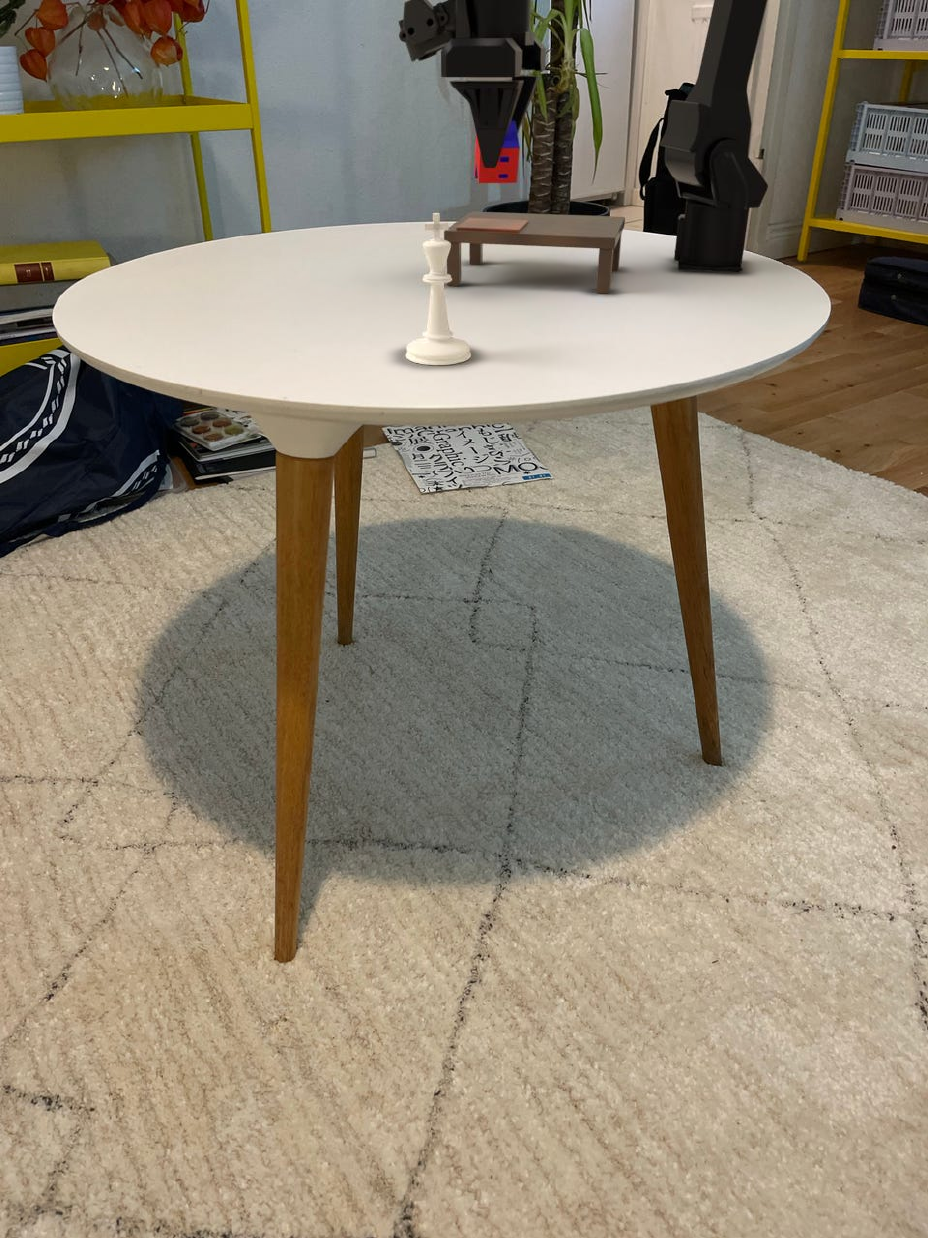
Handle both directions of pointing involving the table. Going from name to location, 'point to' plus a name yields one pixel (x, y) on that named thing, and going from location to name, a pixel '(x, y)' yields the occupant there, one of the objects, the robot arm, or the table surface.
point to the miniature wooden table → (536, 238)
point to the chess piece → (437, 308)
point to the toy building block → (500, 161)
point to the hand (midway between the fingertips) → (496, 163)
